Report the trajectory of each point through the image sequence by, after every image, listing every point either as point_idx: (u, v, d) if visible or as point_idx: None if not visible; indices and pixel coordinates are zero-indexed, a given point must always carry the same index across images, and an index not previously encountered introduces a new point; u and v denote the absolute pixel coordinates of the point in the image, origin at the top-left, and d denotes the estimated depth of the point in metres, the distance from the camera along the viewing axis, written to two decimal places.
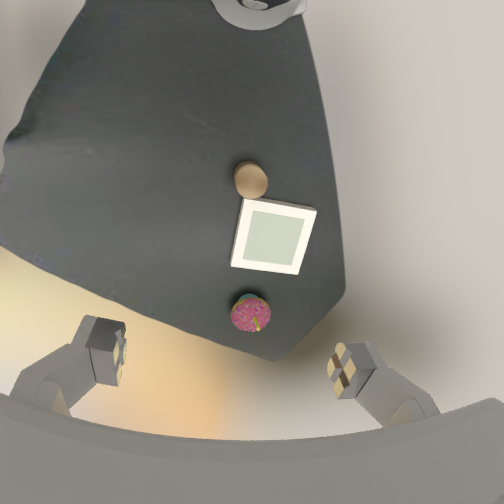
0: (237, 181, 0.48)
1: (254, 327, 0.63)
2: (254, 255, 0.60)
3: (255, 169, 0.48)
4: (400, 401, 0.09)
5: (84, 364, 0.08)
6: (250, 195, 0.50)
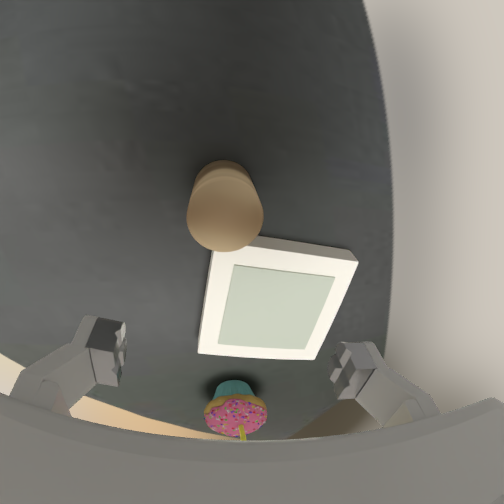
0: (189, 213, 0.20)
1: None
2: (239, 338, 0.32)
3: (232, 184, 0.19)
4: (400, 401, 0.09)
5: (84, 364, 0.08)
6: (222, 245, 0.21)
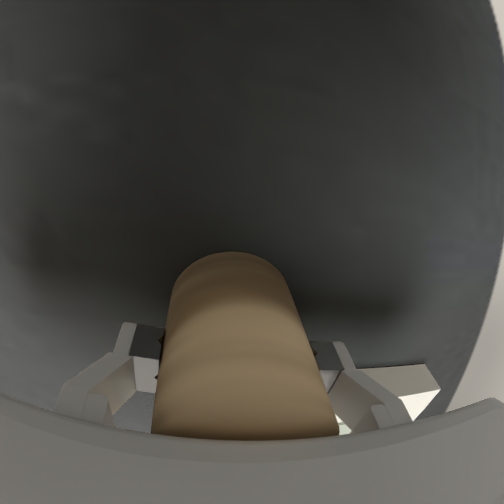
0: None
1: None
2: None
3: (270, 408, 0.06)
4: (368, 406, 0.09)
5: (127, 373, 0.08)
6: None
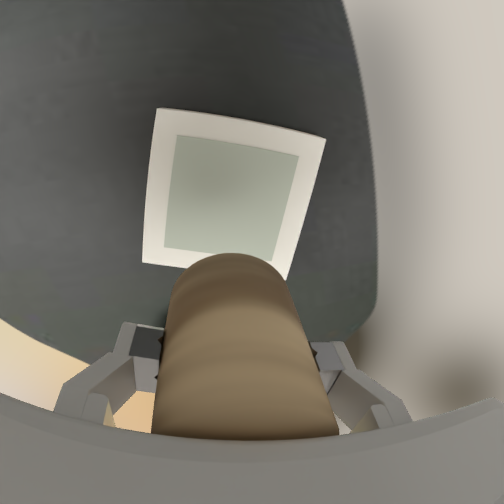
0: None
1: None
2: (188, 238, 0.27)
3: (270, 410, 0.06)
4: (368, 406, 0.09)
5: (127, 373, 0.08)
6: None
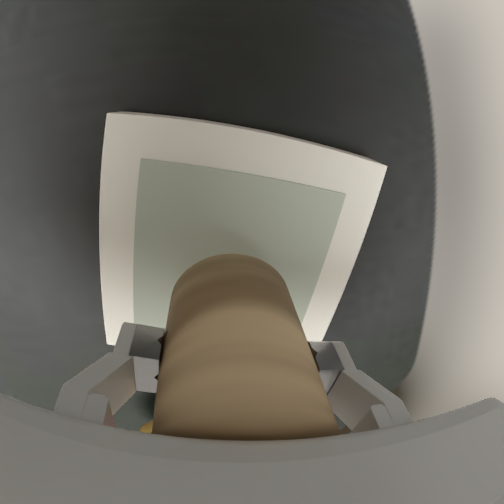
0: None
1: None
2: None
3: (270, 411, 0.06)
4: (368, 406, 0.09)
5: (127, 373, 0.08)
6: None
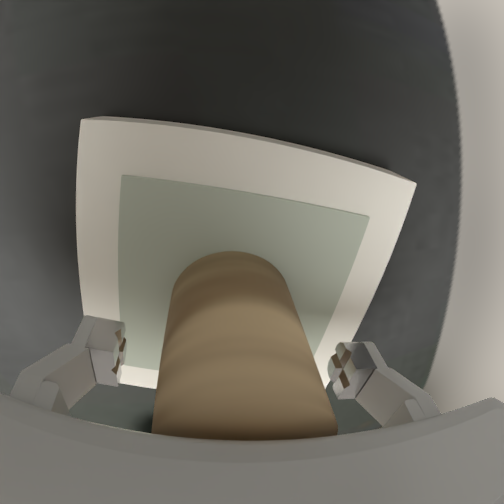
0: None
1: None
2: None
3: (269, 404, 0.06)
4: (400, 401, 0.09)
5: (84, 364, 0.08)
6: None
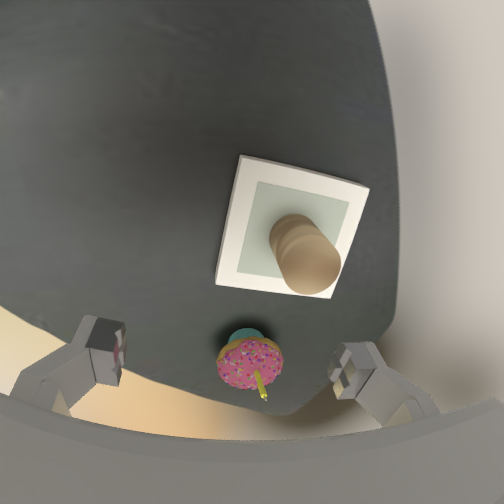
0: (286, 265, 0.25)
1: (255, 385, 0.36)
2: (258, 265, 0.33)
3: (322, 243, 0.25)
4: (400, 401, 0.09)
5: (84, 364, 0.08)
6: (307, 289, 0.26)
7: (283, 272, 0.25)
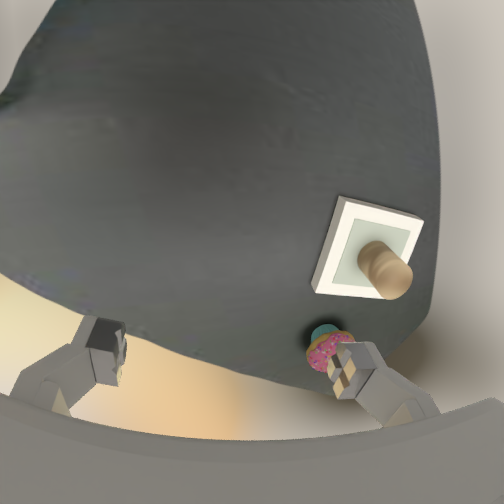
0: (381, 280, 0.35)
1: None
2: (347, 278, 0.43)
3: (404, 265, 0.34)
4: (400, 401, 0.09)
5: (84, 364, 0.08)
6: (390, 295, 0.36)
7: (378, 285, 0.35)
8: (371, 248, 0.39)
